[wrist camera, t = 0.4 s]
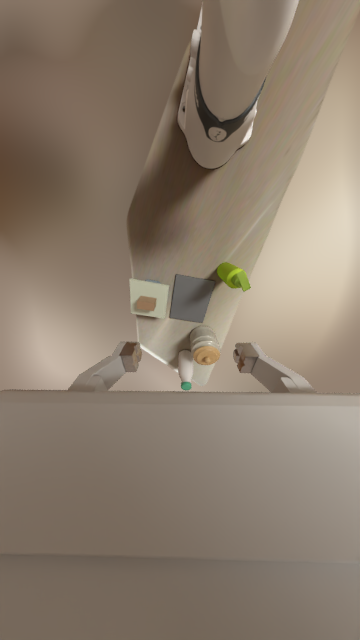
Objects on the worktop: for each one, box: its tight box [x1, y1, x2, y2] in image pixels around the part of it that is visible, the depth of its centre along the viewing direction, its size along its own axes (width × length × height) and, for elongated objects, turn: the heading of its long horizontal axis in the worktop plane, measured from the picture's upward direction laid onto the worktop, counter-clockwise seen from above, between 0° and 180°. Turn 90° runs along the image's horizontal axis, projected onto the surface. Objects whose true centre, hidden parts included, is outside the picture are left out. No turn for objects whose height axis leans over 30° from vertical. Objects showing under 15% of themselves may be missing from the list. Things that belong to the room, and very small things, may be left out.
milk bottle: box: [178, 350, 193, 390], centre depth 67 cm, size 8×8×20 cm
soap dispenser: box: [217, 262, 251, 291], centre depth 42 cm, size 6×7×20 cm
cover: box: [130, 279, 169, 319], centre depth 49 cm, size 14×14×6 cm
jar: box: [190, 326, 221, 365], centre depth 60 cm, size 13×13×18 cm
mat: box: [170, 274, 215, 323], centre depth 57 cm, size 20×16×1 cm
